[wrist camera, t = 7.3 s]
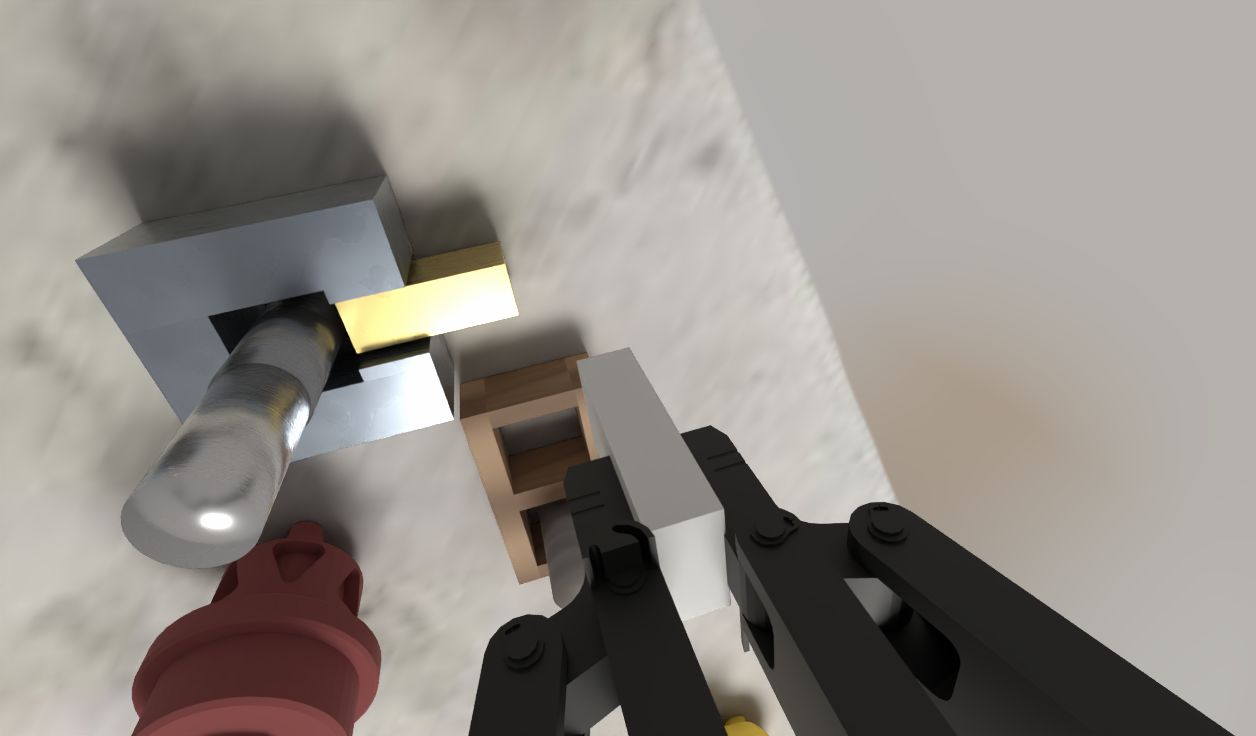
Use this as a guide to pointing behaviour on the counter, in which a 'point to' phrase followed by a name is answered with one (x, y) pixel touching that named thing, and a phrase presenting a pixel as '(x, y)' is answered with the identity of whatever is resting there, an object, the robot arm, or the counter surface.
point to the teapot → (742, 727)
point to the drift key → (434, 299)
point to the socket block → (270, 271)
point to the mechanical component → (266, 650)
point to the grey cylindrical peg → (237, 440)
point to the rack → (531, 468)
